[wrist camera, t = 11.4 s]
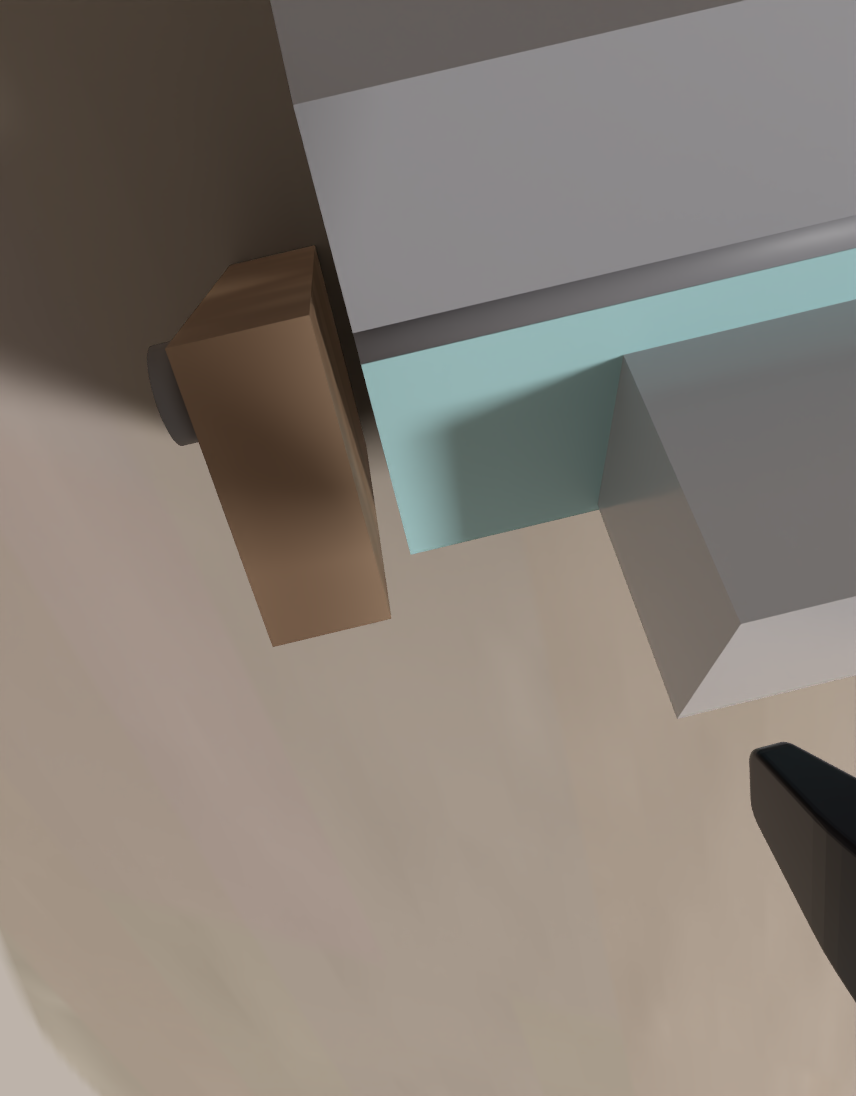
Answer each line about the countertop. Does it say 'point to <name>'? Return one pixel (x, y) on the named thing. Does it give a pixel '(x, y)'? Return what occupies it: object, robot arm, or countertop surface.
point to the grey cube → (740, 506)
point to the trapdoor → (561, 215)
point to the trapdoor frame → (280, 443)
